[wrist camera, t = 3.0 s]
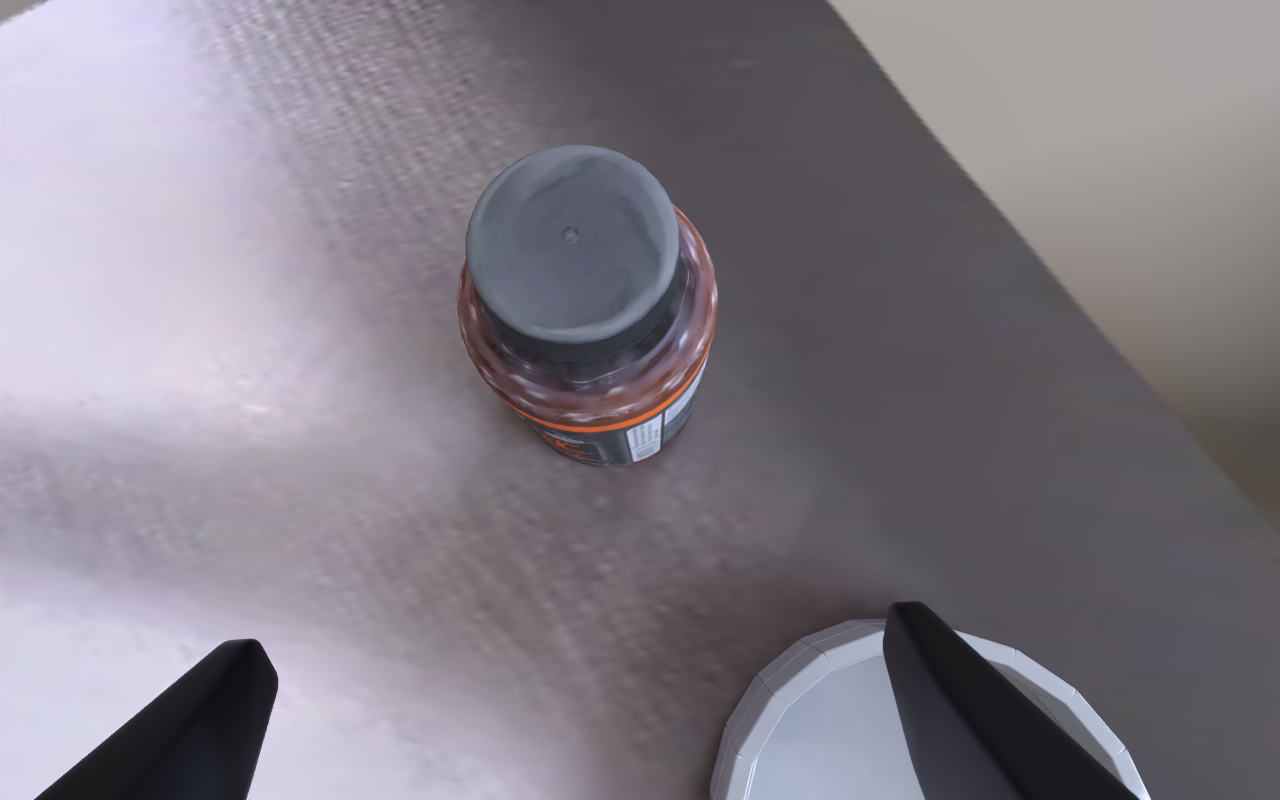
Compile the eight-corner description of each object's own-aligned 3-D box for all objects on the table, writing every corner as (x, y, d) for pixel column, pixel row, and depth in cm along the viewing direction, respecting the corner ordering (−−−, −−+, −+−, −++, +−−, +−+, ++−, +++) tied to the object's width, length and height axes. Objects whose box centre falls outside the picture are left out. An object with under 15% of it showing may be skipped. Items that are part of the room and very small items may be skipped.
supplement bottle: (491, 401, 23) (337, 260, 12) (599, 274, 24) (547, 37, 13) (626, 508, 22) (591, 461, 11) (733, 372, 23) (798, 204, 12)
